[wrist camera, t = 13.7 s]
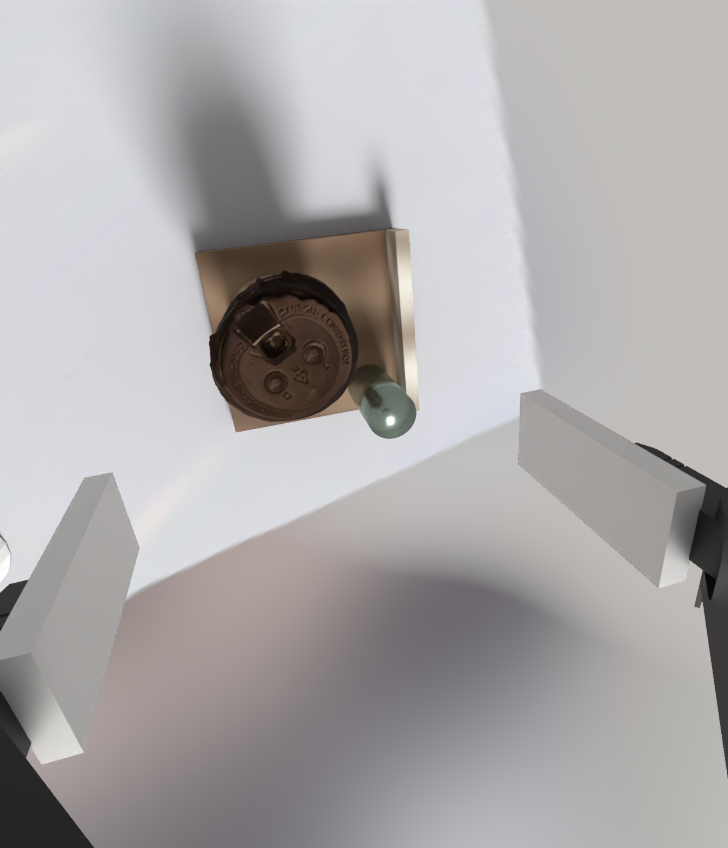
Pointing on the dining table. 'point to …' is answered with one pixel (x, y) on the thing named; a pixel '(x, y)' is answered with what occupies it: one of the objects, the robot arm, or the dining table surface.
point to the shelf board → (349, 279)
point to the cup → (4, 559)
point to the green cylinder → (382, 402)
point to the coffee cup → (284, 348)
